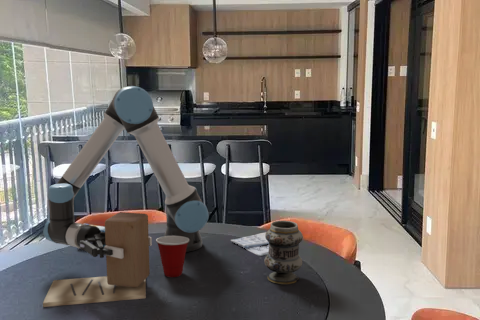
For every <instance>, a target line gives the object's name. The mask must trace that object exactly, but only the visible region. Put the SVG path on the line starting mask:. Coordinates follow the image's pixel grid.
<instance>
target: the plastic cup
mask: <svg viewBox="0 0 480 320" xmlns="http://www.w3.org/2000/svg"><path fill="white" fill-rule="evenodd" d="M155 241H156V244H157V246H158V250H159V255H160V256H159V257H160V261H161V265H162V271H163V274H164V277H165V276H166V277H168V278H177V277H180V276H182V274H183V271H184V264H185V258H186V253H187V252H186V248H187V244H188V242H189V238H187V237H183V236H164V235H163V236H160V237H157V238H156V239H155Z"/></svg>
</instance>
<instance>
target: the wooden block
mask: <svg viewBox="0 0 480 320" xmlns="http://www.w3.org/2000/svg"><path fill="white" fill-rule="evenodd" d="M104 227H105V241H106V245H107V246H112V247H117V248H121V249H123V256H124V258H122V259H120V258H116V257H112V256H107V255H105V258H106V259H105V260H106V276H107V283H108V284H109V285H118V286H130V287H137V286H139V285H140V284H141V283H142V282H143V281H144V280H145V279H147V278H148V277H149V276H150V246H149V236H150V234H149V216H148V214H147V213H143V212H142V213H139V212H123V211H121V212H118V213H116V214H114V215H112V216H110V217H109V218H107V219H105V221H104Z"/></svg>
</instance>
